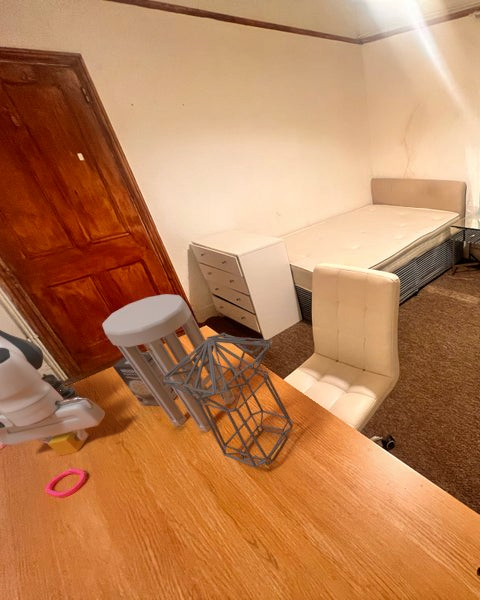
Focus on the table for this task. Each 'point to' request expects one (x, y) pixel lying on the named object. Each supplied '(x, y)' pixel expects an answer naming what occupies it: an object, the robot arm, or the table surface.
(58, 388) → the dark gray tiered ornament
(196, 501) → the table surface
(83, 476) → the fitness band
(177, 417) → the stool
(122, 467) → the table surface
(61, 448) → the yellow block
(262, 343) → the geometric lantern
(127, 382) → the coffee box
